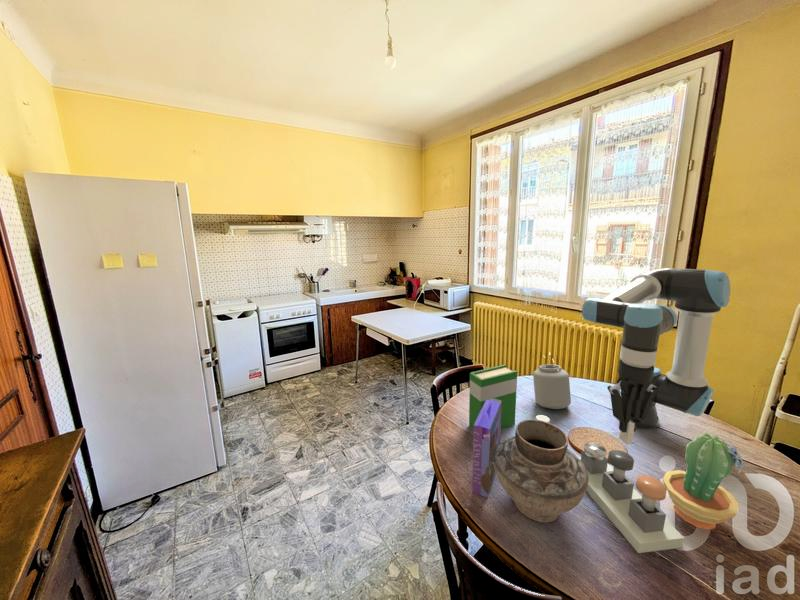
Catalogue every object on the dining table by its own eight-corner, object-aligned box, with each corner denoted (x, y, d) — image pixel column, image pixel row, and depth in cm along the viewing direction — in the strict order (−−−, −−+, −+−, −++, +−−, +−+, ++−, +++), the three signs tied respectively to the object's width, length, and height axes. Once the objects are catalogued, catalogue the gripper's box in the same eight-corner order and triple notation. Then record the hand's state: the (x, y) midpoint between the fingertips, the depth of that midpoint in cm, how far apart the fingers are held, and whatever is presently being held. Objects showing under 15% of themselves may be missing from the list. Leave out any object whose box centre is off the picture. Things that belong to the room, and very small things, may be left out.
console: (598, 462, 108) (600, 442, 107) (682, 547, 79) (687, 521, 78) (565, 466, 108) (567, 445, 106) (638, 553, 78) (642, 526, 77)
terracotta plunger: (648, 496, 85) (652, 474, 84) (668, 515, 79) (673, 492, 78) (627, 498, 85) (631, 476, 83) (646, 518, 79) (650, 494, 77)
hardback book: (502, 415, 138) (504, 364, 133) (514, 424, 131) (517, 371, 126) (469, 425, 132) (469, 372, 127) (479, 435, 125) (481, 380, 120)
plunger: (595, 459, 106) (597, 441, 104) (608, 472, 100) (610, 453, 98) (578, 461, 105) (580, 443, 104) (590, 474, 99) (592, 455, 98)
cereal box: (487, 498, 96) (489, 428, 91) (472, 492, 98) (473, 424, 93) (499, 461, 111) (501, 400, 106) (485, 457, 113) (487, 397, 108)
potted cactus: (715, 551, 78) (734, 464, 73) (647, 503, 92) (659, 428, 87) (745, 526, 84) (765, 445, 79) (677, 485, 98) (690, 413, 93)
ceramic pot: (568, 477, 102) (574, 412, 97) (598, 552, 79) (608, 471, 74) (489, 468, 108) (491, 405, 103) (495, 535, 84) (498, 458, 79)
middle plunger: (620, 469, 95) (622, 449, 93) (636, 484, 89) (639, 463, 88) (601, 471, 94) (603, 450, 93) (616, 486, 89) (619, 465, 87)
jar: (522, 396, 153) (525, 347, 148) (548, 391, 156) (552, 344, 151) (549, 417, 135) (553, 363, 130) (577, 411, 139) (583, 359, 133)
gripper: (648, 355, 87) (636, 431, 92) (603, 358, 86) (594, 434, 91) (672, 367, 80) (659, 448, 84) (623, 369, 79) (612, 451, 84)
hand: (625, 441), depth 88 cm, fingers closed
